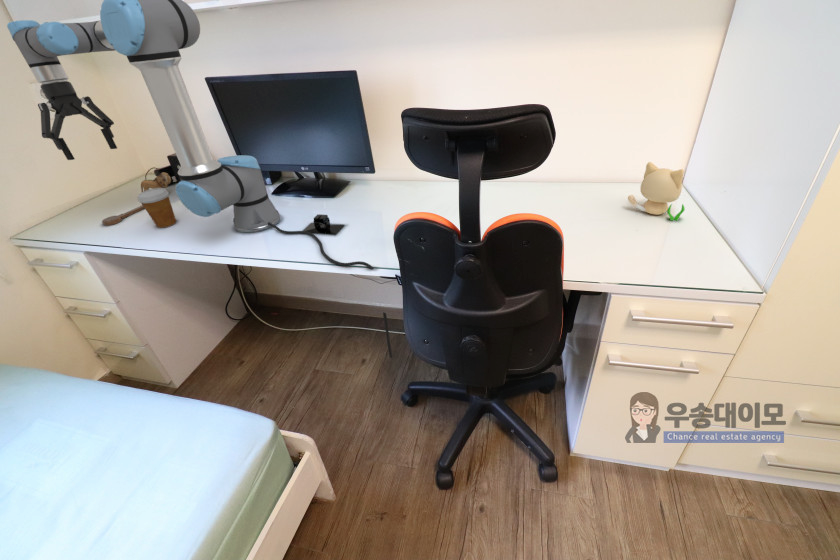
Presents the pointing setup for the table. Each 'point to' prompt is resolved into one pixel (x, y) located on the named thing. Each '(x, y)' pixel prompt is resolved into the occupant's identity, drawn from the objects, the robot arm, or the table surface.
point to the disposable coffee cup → (158, 206)
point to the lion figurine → (156, 182)
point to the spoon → (120, 217)
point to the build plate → (323, 226)
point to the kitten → (659, 190)
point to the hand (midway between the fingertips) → (93, 154)
